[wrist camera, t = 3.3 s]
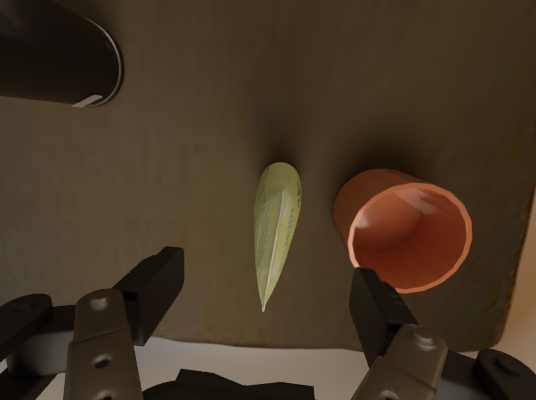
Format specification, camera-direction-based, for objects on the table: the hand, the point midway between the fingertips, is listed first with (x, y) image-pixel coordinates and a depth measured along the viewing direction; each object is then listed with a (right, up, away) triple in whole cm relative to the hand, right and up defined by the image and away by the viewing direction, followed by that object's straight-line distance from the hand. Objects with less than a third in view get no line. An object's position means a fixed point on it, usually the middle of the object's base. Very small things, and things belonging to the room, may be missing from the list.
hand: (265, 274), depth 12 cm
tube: (+2, +6, +21) cm, 22 cm away
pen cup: (+14, +2, +21) cm, 25 cm away
